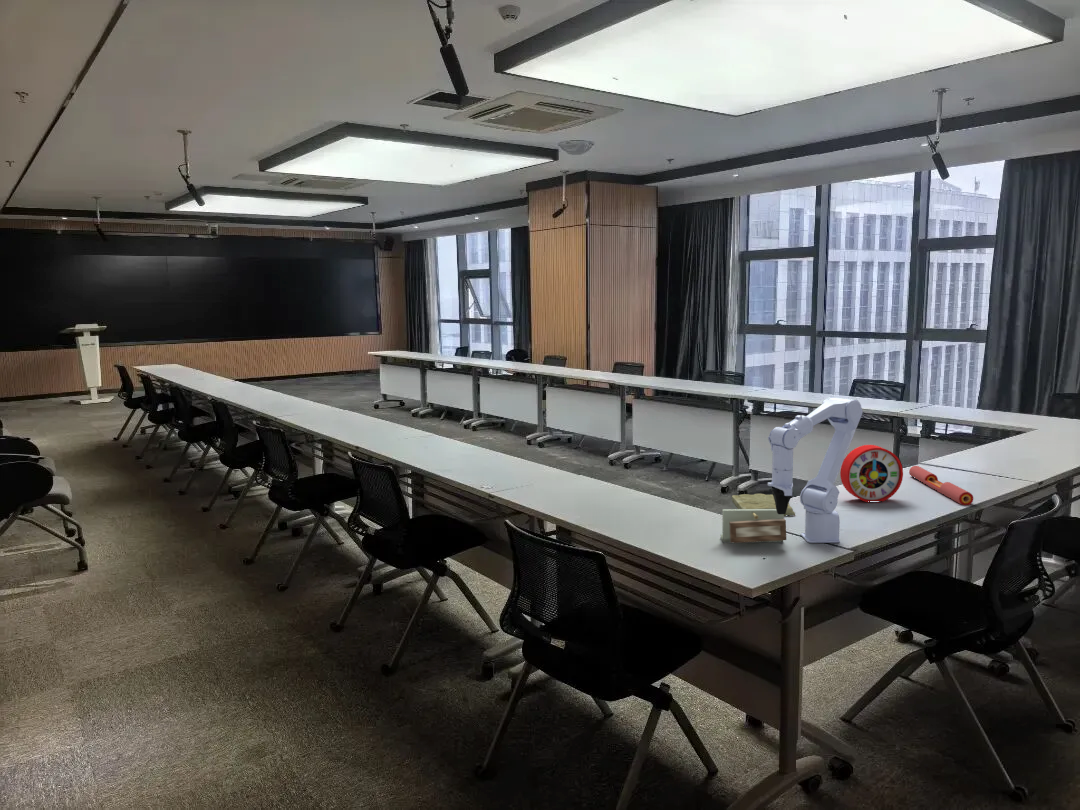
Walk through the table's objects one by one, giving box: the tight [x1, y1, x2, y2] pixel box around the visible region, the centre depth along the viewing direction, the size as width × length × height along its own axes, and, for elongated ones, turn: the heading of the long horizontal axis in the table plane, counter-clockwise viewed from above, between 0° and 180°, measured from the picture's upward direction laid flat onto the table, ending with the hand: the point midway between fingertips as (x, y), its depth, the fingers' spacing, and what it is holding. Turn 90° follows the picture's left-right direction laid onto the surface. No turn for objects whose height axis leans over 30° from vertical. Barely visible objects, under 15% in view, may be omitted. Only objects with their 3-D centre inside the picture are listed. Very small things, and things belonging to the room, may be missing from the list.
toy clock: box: [839, 444, 904, 503], centre depth 264 cm, size 20×6×20 cm, turn 91°
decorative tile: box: [731, 493, 796, 517], centre depth 258 cm, size 19×20×4 cm
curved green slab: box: [720, 508, 785, 543], centre depth 222 cm, size 18×8×10 cm, turn 86°
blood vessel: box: [908, 465, 974, 506], centre depth 277 cm, size 42×5×5 cm, turn 175°
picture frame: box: [729, 518, 787, 544], centre depth 217 cm, size 16×2×6 cm, turn 87°
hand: (781, 513), depth 216 cm, fingers closed
